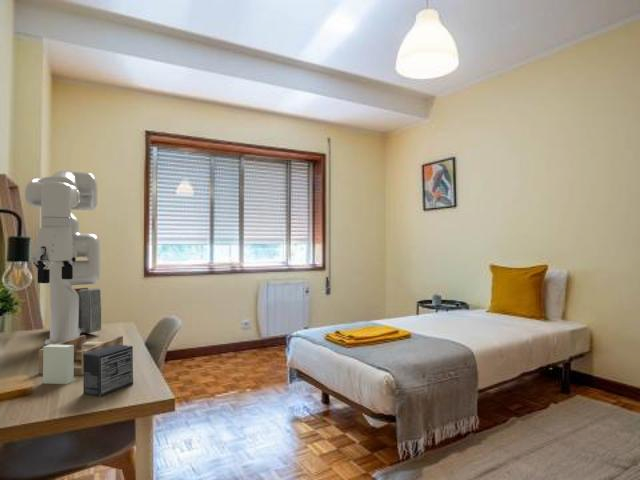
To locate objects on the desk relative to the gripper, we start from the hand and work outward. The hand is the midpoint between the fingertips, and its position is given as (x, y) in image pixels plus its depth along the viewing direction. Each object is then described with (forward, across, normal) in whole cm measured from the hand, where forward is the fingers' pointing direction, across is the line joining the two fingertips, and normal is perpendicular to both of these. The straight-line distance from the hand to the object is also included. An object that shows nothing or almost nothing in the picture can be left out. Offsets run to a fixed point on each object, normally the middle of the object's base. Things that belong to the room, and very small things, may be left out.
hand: (55, 281), depth 121 cm
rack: (+27, -7, +4) cm, 28 cm away
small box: (+26, +13, +25) cm, 39 cm away
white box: (+27, +9, +8) cm, 29 cm away
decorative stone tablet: (+30, -52, -30) cm, 67 cm away
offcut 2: (+25, -13, +4) cm, 28 cm away
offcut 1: (+28, -14, +1) cm, 31 cm away
